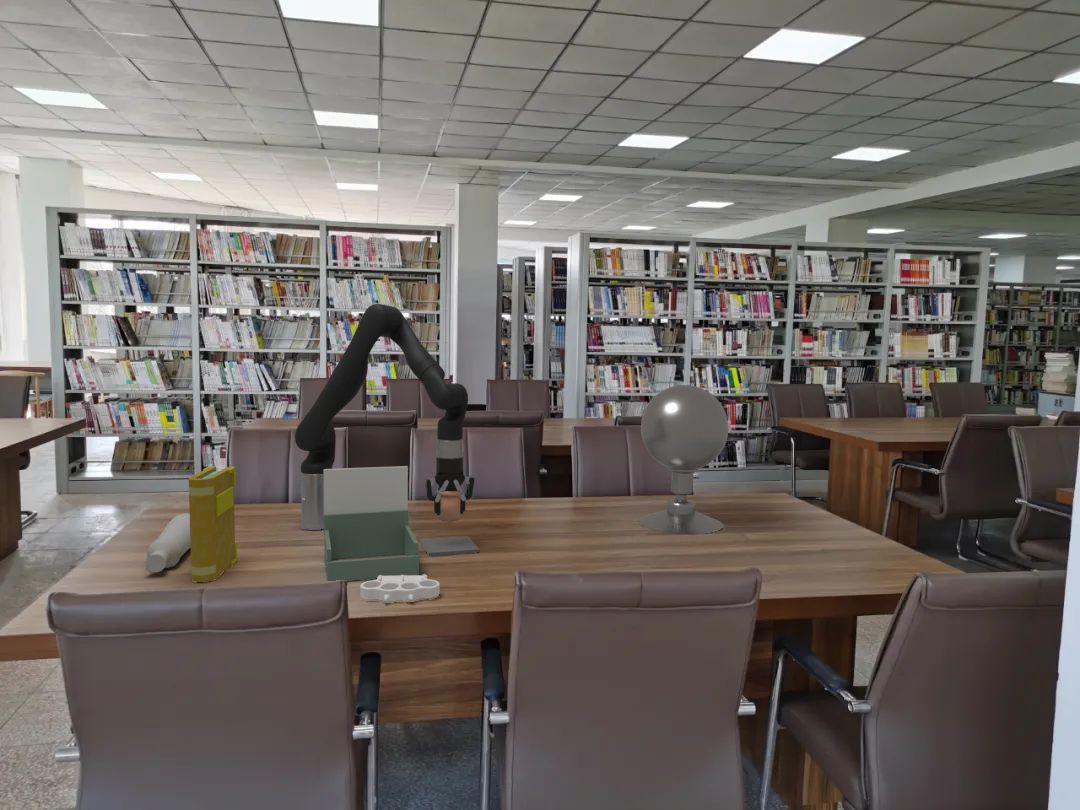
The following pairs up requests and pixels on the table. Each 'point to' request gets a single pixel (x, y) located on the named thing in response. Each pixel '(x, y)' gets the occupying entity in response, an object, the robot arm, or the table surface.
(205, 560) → the book
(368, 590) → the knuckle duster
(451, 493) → the pot
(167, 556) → the bottle
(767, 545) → the table surface
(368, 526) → the box
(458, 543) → the slate pad
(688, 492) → the desk lamp
